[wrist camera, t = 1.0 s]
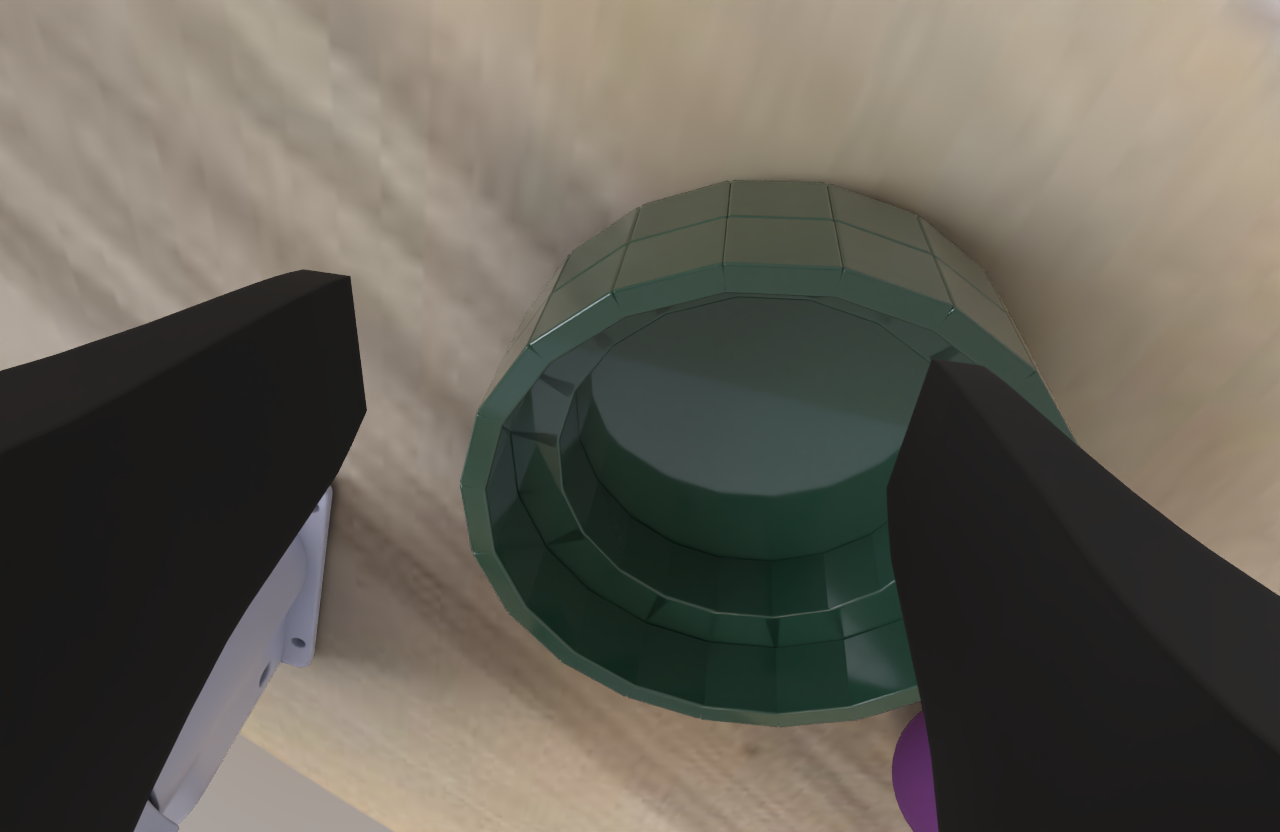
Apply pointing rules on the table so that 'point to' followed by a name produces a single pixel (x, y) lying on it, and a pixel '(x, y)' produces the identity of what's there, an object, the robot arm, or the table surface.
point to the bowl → (727, 447)
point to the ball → (915, 777)
